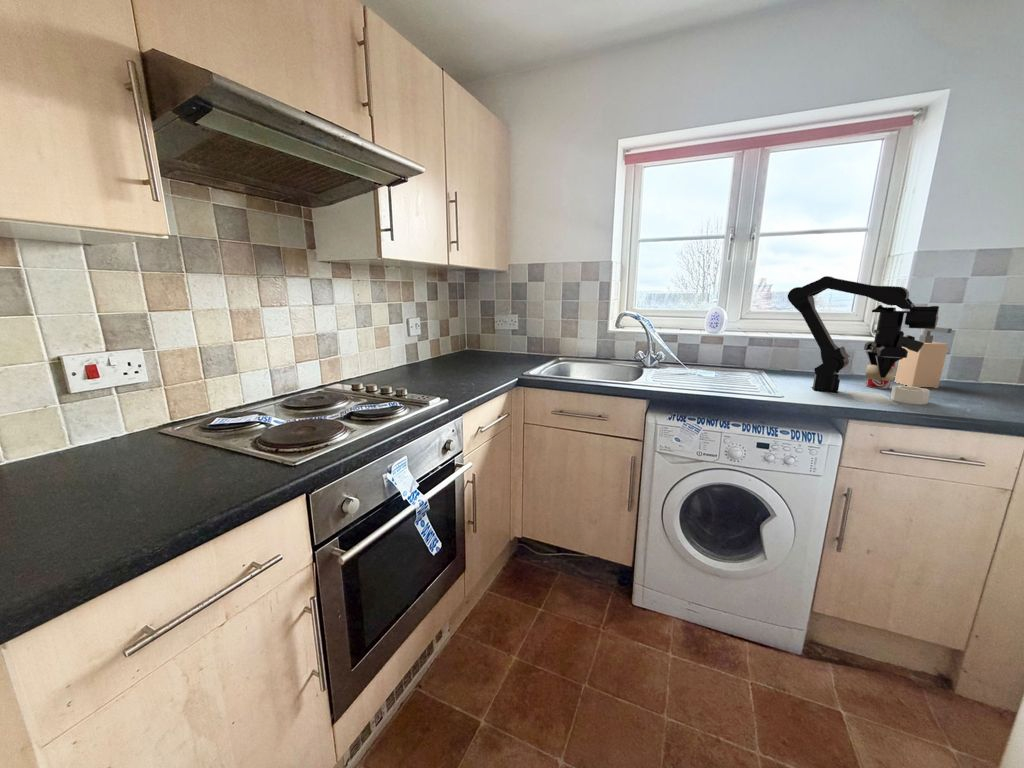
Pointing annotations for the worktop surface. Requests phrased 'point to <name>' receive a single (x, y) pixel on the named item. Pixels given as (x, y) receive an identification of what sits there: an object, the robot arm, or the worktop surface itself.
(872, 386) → the soda can
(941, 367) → the soap dispenser
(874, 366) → the lid
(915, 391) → the bowl
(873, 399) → the mat
